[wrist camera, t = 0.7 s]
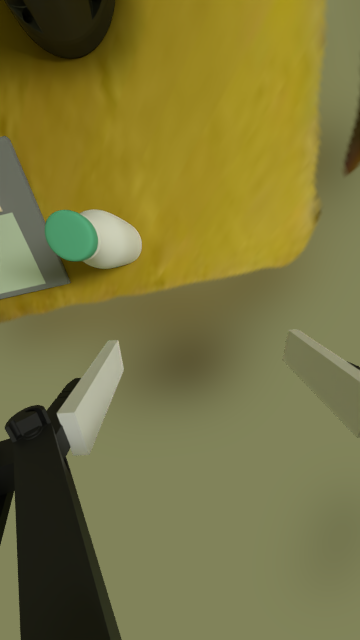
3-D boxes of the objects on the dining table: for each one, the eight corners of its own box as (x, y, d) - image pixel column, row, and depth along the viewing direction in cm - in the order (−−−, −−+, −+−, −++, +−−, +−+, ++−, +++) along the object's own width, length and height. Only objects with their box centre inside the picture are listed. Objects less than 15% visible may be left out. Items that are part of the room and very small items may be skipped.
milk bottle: (122, 212, 34) (60, 166, 16) (150, 246, 36) (125, 242, 18) (94, 240, 36) (7, 230, 17) (123, 272, 38) (73, 293, 19)
